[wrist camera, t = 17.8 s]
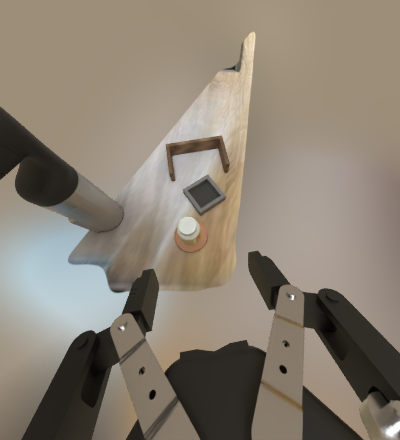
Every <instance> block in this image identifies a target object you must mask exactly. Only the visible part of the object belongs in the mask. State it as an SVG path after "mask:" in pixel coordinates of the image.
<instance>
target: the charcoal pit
mask: <svg viewBox="0 0 400 440" xmlns="http://www.w3.org/2000/svg"><path fill="white" fill-rule="evenodd" d="M183 192H184V194H185V195H186V197H187V198H188V199H189V201H190V202H191V203H192V205H193V206H194V208H195V209H196V210H197V212H198V213H199V214H200V215H202V214H203V213H205V212H206V211H208V210H210V209H211V208H213V207H214V206H216V205H217V204H219V203H220V202H222V201H223V200H225V198H226V196H225V195H224V193H223V192H222V191H221V190H220V189H219V187H218V186H217V185H216V184H215V183H214V181H213V180H212V179H211V178H210V177H209V175H206V176H205V177H203V178H201V179H200V180H198V181H196V182H195V183H193V184H192V185H190V186H188V187H187V188H185V189H183Z"/></svg>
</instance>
